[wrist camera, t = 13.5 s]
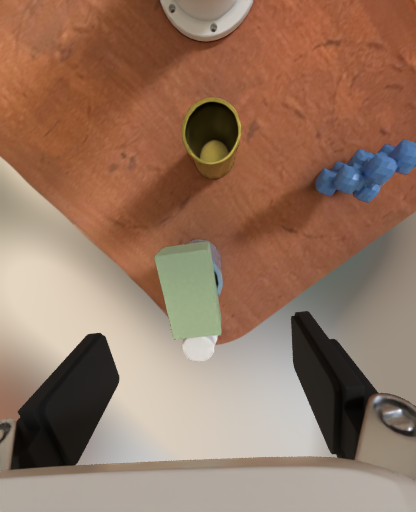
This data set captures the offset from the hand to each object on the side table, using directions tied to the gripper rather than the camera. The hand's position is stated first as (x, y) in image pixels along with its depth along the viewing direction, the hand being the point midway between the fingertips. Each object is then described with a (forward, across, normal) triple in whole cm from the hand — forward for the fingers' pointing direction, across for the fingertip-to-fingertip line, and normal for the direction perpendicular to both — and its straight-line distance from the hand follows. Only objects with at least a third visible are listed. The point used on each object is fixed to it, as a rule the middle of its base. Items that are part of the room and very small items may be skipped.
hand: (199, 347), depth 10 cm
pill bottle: (+26, +4, +14) cm, 30 cm away
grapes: (+26, -20, -6) cm, 34 cm away
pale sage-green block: (+17, +3, +4) cm, 18 cm away
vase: (+26, -2, -12) cm, 29 cm away
